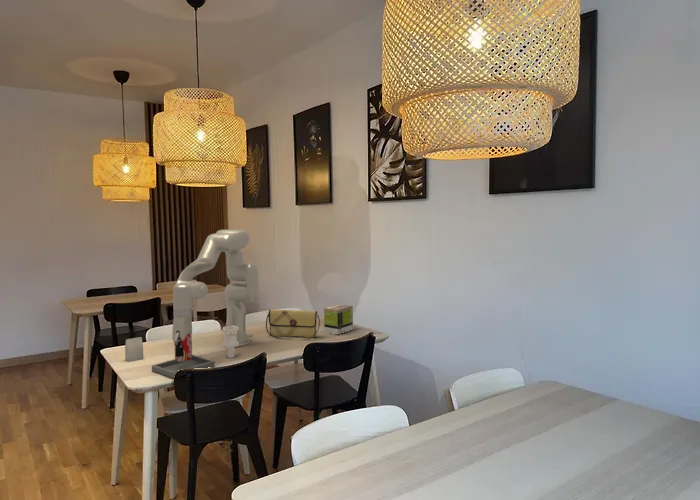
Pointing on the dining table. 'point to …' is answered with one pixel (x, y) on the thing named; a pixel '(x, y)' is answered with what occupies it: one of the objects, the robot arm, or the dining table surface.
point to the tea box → (338, 319)
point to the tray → (181, 366)
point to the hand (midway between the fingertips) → (183, 353)
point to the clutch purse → (292, 323)
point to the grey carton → (134, 349)
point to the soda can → (185, 349)
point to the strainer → (230, 339)
